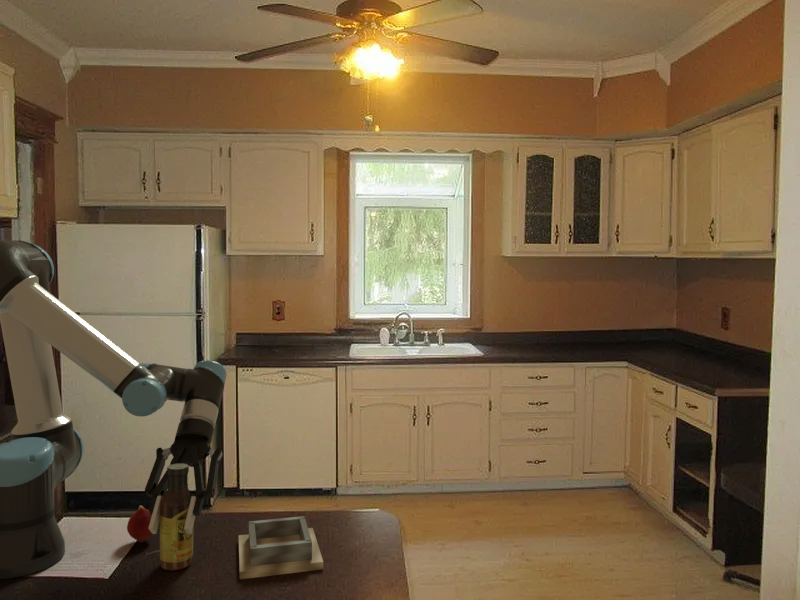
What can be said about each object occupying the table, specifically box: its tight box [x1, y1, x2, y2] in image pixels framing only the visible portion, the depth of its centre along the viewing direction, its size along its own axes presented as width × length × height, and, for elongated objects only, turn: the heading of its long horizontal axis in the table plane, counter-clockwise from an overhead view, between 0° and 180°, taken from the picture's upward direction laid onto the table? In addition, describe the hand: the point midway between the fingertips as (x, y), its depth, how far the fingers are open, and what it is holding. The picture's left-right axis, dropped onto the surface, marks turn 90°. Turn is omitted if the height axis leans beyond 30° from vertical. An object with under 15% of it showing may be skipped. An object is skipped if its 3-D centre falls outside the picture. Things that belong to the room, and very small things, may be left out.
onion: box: [126, 505, 154, 543], centre depth 130 cm, size 6×6×8 cm
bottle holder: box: [238, 515, 324, 580], centre depth 125 cm, size 16×16×5 cm
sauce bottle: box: [159, 463, 194, 572], centre depth 120 cm, size 7×6×20 cm
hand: (170, 531), depth 117 cm, fingers closed on sauce bottle, 6 cm apart
